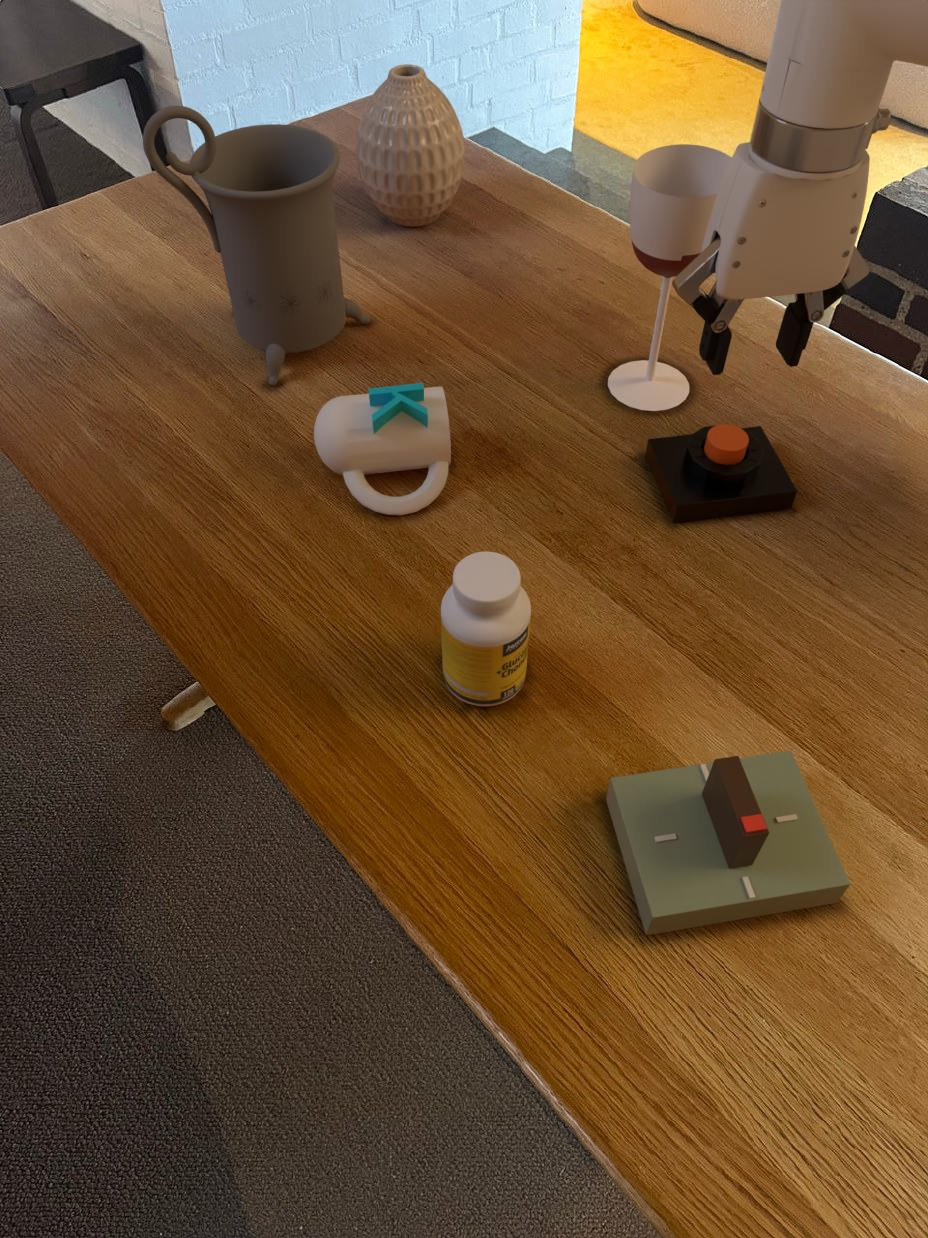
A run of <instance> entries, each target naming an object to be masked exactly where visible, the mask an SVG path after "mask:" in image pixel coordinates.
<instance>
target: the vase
mask: <svg viewBox="0 0 928 1238" xmlns="http://www.w3.org/2000/svg"><path fill="white" fill-rule="evenodd" d="M455 110H456V109H455V108H454V106H453V105H452V103H451V101H450V100H449V98H448V97H447V95H446V94H445V93H444V92H443V90H441V89H440V88H439V86H437V85H436V84H435V82H433V81H432V80H430V78H428V76H427V74H426V71H425V69H424V68H422V67H421V66H419V65H417V64H410V63H409V64H408V63H407V64H399V65H396V66H394V67H391V68H390V70H389V71H388V73H387V77H386V79H385V80H384V81H383V82H382V83H381V84H380V85H379V86H378V87H377V89H375V90H374V92H373V94H372V95H371V96H370V97H369V99H368V101H367V103H366V104H365V107H364V109H363V111H362V114H361V117H360V119H359V122H358V127H357V130H356V131H357V132H356V139H355V140H356V141H355V156H356V164H357V169H358V174H359V177H360V181H361V183H362V186H363V188H364V190H365V192H366V193H367V196H368V197H369V199H370V200H371V202H372V203H373V205H374V206H375V207H376V208H377V209H378V211H380V212H381V214H383V215H384V216H385V217H386V218H387V219H388V220H389V221H391V222H392V223H393V224H395V225H398V226H401V227H406V228H419V227H420V228H421V227H425V226H427V225H430V224H432V223H434V222H435V221H436V220H438V218H440V216H442V215H443V213H444V212H445V211H446V210H447V209H448V208H449V206H450V205H451V203H452V201H453V200H454V198H455V196H456V194H457V192H458V190H459V188H460V186H461V183H462V178H463V175H464V170H465V161H466V155H465V153H466V152H465V151H466V150H465V148H466V147H465V139H464V132H463V129H462V125H461V122H460V119H459V117H458V115H457V112H456V111H455Z"/></svg>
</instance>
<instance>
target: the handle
mask: <svg viewBox="0 0 928 1238" xmlns="http://www.w3.org/2000/svg"><path fill="white" fill-rule="evenodd" d="M739 758H740V757H739V755H734V756H727V757H721V758H715V759H714V760H713V762H714V763H713V765H712V768H711V771H710V773H709V776H708V778H707V781H706V784H705V786H704V789H703V791H702V796H703V799H704V801H705V804H706V807H707V810H708V812H709V815H710V818H711V821H712V823H713V826H714V829H715V832H716V834H717V837H718V840H719V843H720V845H721V848H722V851H723V854H724V856H725V859H726V862H727V865H728V867H729V869H731V868H737V867H743V866H749V865H753V863H754V861H755V859H756V857H757V855H758V854H759V852H760V850H761V848H762V846H763V844H764V842H765V840H766V839H767V837H768V835H769V830H768V828H767V826H766V823H765V821H764V818H763V816H762V813H761V811H760V808H759V806H758V803H757V801H756V798H755V796H754V793H753V791H752V788H751V786H750V783H749V781H748V778H747V776H746V773H745V771H744V768H743V766H742V764H741V761H740V759H739Z"/></svg>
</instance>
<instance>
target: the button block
mask: <svg viewBox="0 0 928 1238" xmlns="http://www.w3.org/2000/svg"><path fill="white" fill-rule="evenodd" d="M717 425H718V424H716V425H708V426H704V427H701V428H700V429H698V430H696V431H695V432H694V433H689V434H680V435H672V436H664V437H656V438H654V437H653V438H648V439H647V444H646V449H645V454H644V458H645V461H646V462H647V463H646V464H647V465H648V467H649V470H650V471H651V474H652V477H653V480H654V481H655V484H656V486H657V488H658V490H659V492H660V495H661V497H662V500H663V503H664V504H665V506H666V509H667V511H668V514H669V516H670V518H671V520H672V523H673V524H678V523H687V522H694V521H702V520H710V519H719V518H726V517H733V516H735V517H736V516H741V515H742V516H743V515H751V514H759V513H766V512H774V511H782V510H791V509H792V507H793V504H794V502H795V499H796V496H797V493H798V488H797V487H796V486H795V484H794V482H793V480H792V479H791V477H790V475H789V474H788V471H787V470H786V468H785V466H784V465H783V463H782V461H781V459H780V458H779V456H778V454H777V451H775V448H774V447H773V444H772V443H771V442H770V440H769V438H768V436H767V434H766V432H765V430H764V429H763V427H762V426H761V425H759V426H758V425H757V426H751V427H750V426H749V427H740V428H741V429H742V430H744V431H745V432H746V434H747V435H748V438H749V443H748V446H747V450H746V453H745V456H744V459H743V460H742V461H741V462H740V463H738V464H733V465H724V464H720V463H715V462H713V461H712V460H710V459H709V458H707V457H706V455H705V453H704V446H705V442H706V438H707V434H708V431H709V430H710V429H711V428H712V427H714V426H717Z"/></svg>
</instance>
